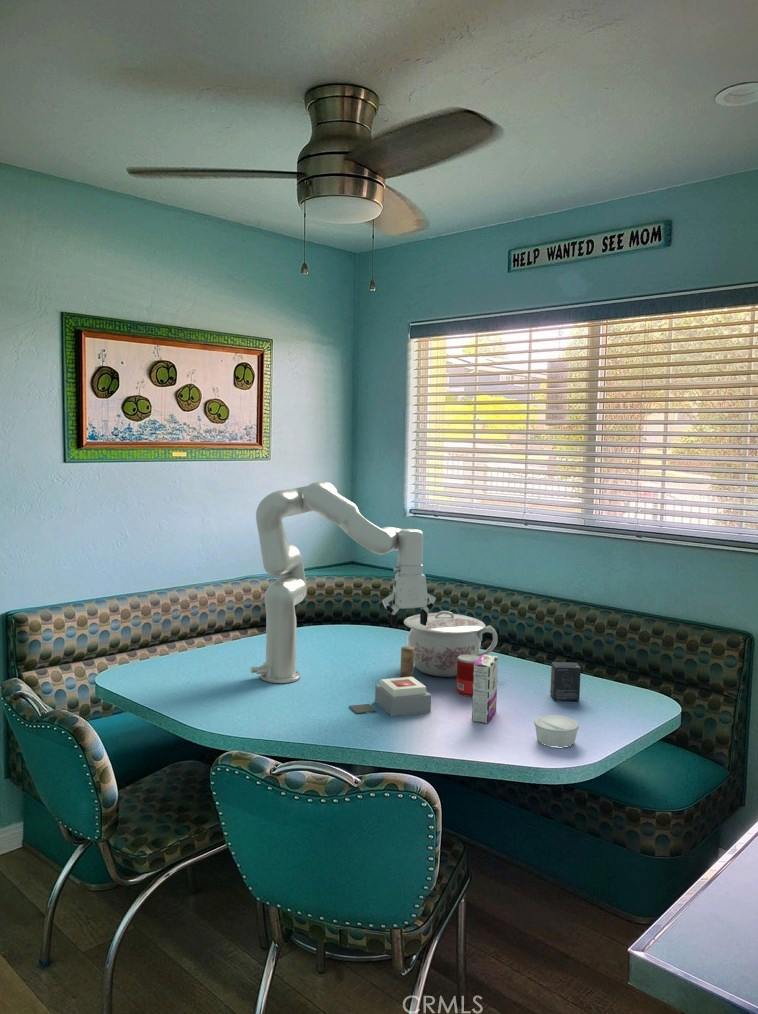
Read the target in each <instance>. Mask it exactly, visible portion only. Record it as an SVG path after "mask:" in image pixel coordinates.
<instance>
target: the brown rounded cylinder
mask: <svg viewBox="0 0 758 1014" xmlns="http://www.w3.org/2000/svg"><path fill="white" fill-rule="evenodd" d="M414 667H415V664H414V648H413V647H409V646H408V645H407V646H406V645H405V646H401V648H400V671H399V672H400V673H399V674H400V675H399V678H402V677H413V678H414V669H415V668H414Z"/></svg>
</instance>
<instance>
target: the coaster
mask: <svg viewBox="0 0 758 1014" xmlns="http://www.w3.org/2000/svg"><path fill="white" fill-rule="evenodd" d="M348 707H350V708H351V709H352V712H353V713H355V715H359V714H360V713H362V714H368V713H367V712H371V713H376V712H377V710H376V709H375V708H374V707H373V706H372V705H371V704H369V703H364V704H361V703H360V704H353V705H349V706H348ZM360 715H361V714H360Z"/></svg>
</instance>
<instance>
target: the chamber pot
mask: <svg viewBox="0 0 758 1014" xmlns="http://www.w3.org/2000/svg"><path fill="white" fill-rule="evenodd" d="M403 624H404V625H405V626H407V627H408V628H409V629H410V630H409V631H408V633H407V640H406V642H407V646H409V647H413V648H414V667H415V668H416V669H417V670H418V671H420V672H421V673H424V674H427V675H429V676H433V677H439V678H454V676H455V677H457V659H458V656H460V655H465V654H469V655H477V656H480V657H481V656H482V655H489V654H490V653H491V652H492V651H493V650H494V649H495V648H496V647H497V645H498V642H499V641H498V633H497V631H496V629H495V628H494V627H493V626H492V625H487V626H486V624H485V623H484V621H482V620H480V619H478V618H475V617H471V616H468V615H464V614H459V613H453V612H451V611H448V610H441V611H438V612H428V618H427V622H426V626H424V625H422V624H420V613H419V614H414V615H411V616H408V617H406V618H405V619H404V620H403ZM484 633H490V634H491V635H492V642H491V644H490V646H489V647H488V648H487V649H485V650H483V651H481V643H482V641H483V634H484ZM480 651H481V652H480Z"/></svg>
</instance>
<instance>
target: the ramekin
mask: <svg viewBox="0 0 758 1014" xmlns="http://www.w3.org/2000/svg"><path fill="white" fill-rule="evenodd" d="M534 727H535V733H536V739H537V741H538V742H539V743H540V742H541V743H543V744H546V745H549V746H558V747H564V746H570V745H572V744H573V745H574V744H575V743H576V738H577V734H578V730H579V727H580V726H579V723H578V722H577V721H576V720H574V719H573V718H572V719H571V718H570V717H567V716H563V715H555V714H554V715H548V714H547V715H542V716H538V717H536V718H535V719H534ZM541 743H540V744H541ZM543 744H542V745H543ZM573 745H572V746H573Z"/></svg>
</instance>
